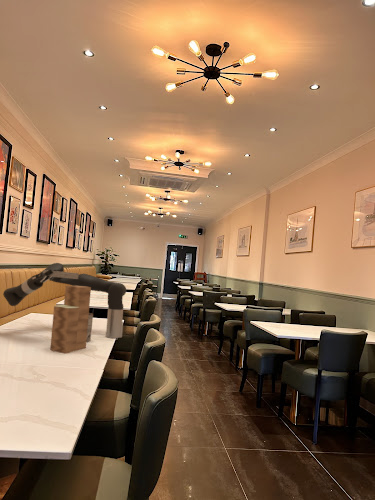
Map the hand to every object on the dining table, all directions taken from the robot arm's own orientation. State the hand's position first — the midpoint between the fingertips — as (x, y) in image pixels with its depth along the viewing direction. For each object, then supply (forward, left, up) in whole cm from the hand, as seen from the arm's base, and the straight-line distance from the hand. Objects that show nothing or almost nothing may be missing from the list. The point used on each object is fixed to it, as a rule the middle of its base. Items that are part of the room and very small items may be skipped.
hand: (54, 271), depth 195 cm
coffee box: (-18, -3, -39) cm, 43 cm away
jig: (-9, +15, -39) cm, 43 cm away
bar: (-3, +3, -3) cm, 5 cm away
